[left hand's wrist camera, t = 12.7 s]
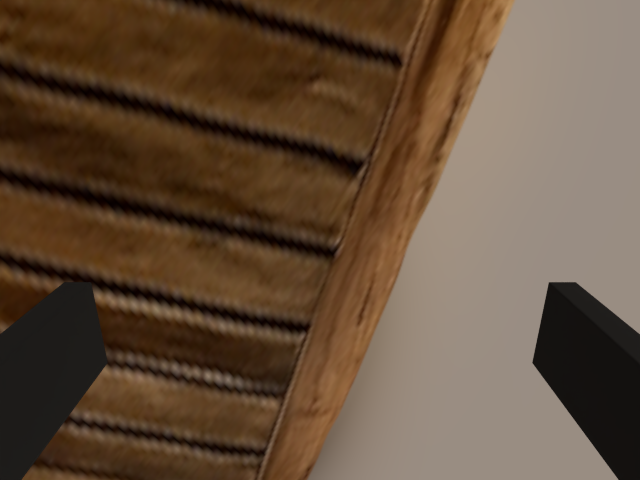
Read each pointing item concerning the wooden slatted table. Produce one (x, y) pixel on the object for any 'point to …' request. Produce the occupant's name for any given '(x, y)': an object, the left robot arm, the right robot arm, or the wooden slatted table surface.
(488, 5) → the wooden slatted table surface
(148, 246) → the wooden slatted table surface
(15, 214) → the wooden slatted table surface
